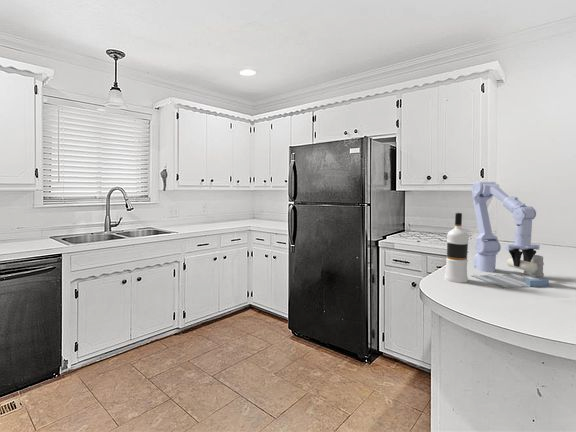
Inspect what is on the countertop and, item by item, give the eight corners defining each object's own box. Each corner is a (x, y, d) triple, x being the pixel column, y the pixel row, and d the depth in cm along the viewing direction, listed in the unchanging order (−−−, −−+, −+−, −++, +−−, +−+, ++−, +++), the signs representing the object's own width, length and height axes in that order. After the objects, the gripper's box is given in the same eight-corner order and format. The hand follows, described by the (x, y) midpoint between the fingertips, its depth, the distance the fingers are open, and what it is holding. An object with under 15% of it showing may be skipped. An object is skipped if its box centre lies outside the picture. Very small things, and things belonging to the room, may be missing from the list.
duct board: (470, 277, 157) (470, 270, 157) (513, 276, 160) (514, 269, 160) (503, 290, 138) (503, 281, 137) (552, 288, 141) (552, 280, 140)
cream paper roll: (506, 266, 155) (507, 257, 155) (514, 266, 155) (515, 257, 155) (528, 272, 143) (529, 263, 143) (537, 272, 144) (538, 263, 143)
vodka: (439, 280, 153) (442, 212, 151) (455, 278, 156) (458, 212, 154) (456, 285, 144) (459, 213, 142) (472, 283, 147) (476, 213, 145)
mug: (544, 276, 160) (546, 251, 159) (541, 281, 151) (543, 254, 150) (524, 274, 165) (526, 249, 164) (521, 278, 156) (522, 252, 155)
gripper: (515, 236, 143) (513, 268, 144) (546, 235, 145) (544, 267, 146) (502, 234, 150) (500, 265, 151) (532, 233, 152) (530, 264, 153)
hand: (521, 266), depth 149 cm, fingers closed on cream paper roll, 4 cm apart
